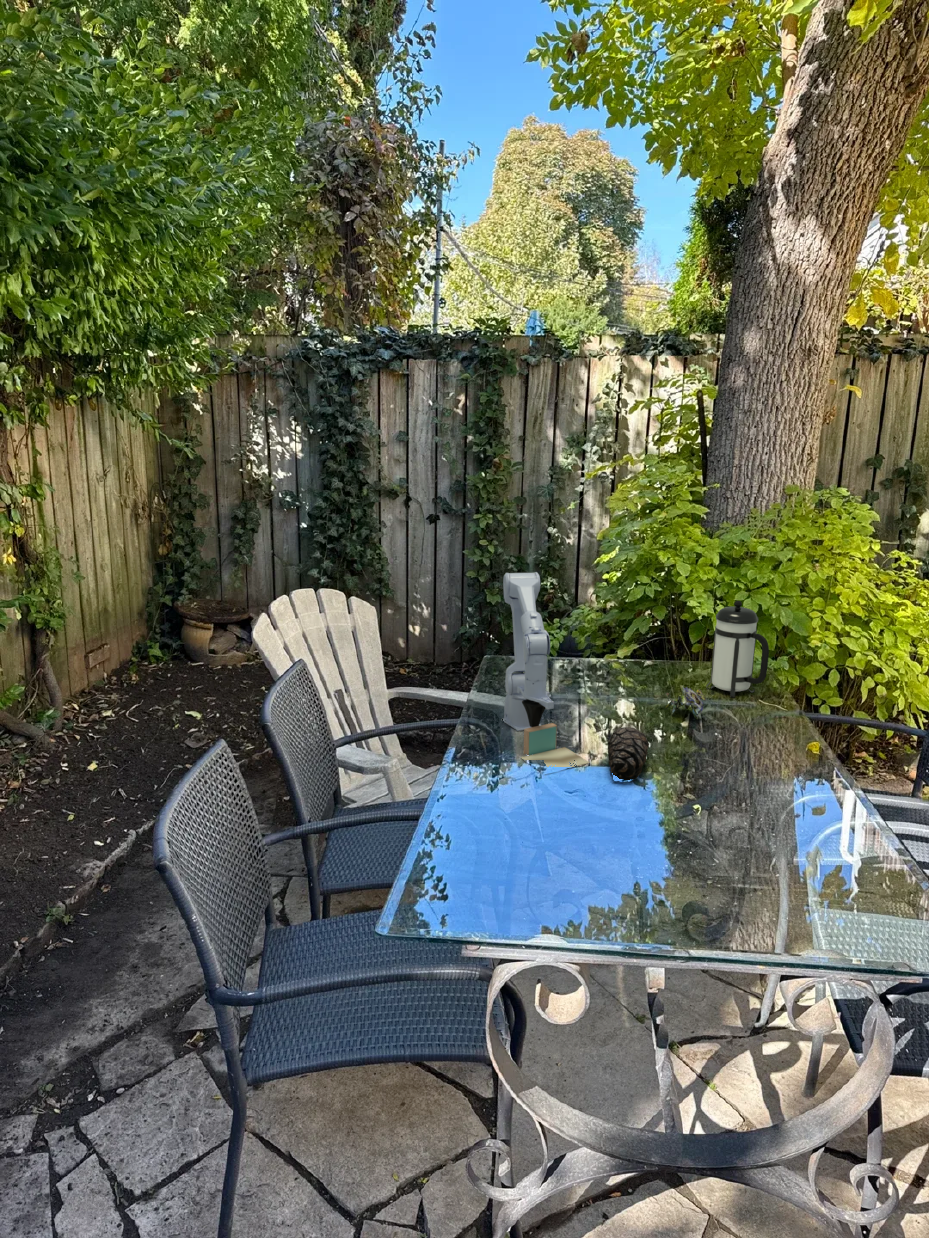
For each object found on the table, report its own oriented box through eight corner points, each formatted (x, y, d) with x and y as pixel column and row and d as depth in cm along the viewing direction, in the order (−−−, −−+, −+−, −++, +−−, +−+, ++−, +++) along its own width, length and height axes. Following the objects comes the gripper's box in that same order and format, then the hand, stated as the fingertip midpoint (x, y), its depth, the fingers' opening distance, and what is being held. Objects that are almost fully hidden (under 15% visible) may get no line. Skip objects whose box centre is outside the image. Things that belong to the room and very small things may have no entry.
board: (520, 758, 206) (520, 757, 206) (564, 748, 213) (564, 746, 213) (544, 775, 197) (544, 773, 197) (589, 763, 203) (589, 762, 203)
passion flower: (696, 735, 235) (708, 713, 226) (659, 726, 237) (670, 704, 227) (698, 704, 242) (710, 682, 233) (663, 696, 244) (673, 673, 234)
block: (523, 753, 210) (524, 728, 208) (551, 747, 214) (552, 722, 212) (527, 756, 208) (528, 731, 206) (556, 750, 212) (557, 725, 210)
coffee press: (706, 696, 252) (713, 605, 245) (706, 681, 267) (713, 594, 259) (764, 702, 247) (773, 609, 240) (761, 686, 262) (770, 597, 254)
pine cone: (607, 785, 192) (609, 746, 190) (606, 754, 209) (608, 719, 207) (651, 788, 190) (653, 749, 188) (646, 757, 207) (649, 721, 205)
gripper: (564, 683, 204) (562, 732, 207) (533, 668, 216) (532, 715, 220) (541, 687, 201) (539, 737, 204) (511, 672, 213) (510, 719, 216)
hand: (534, 726), depth 212 cm, fingers closed
